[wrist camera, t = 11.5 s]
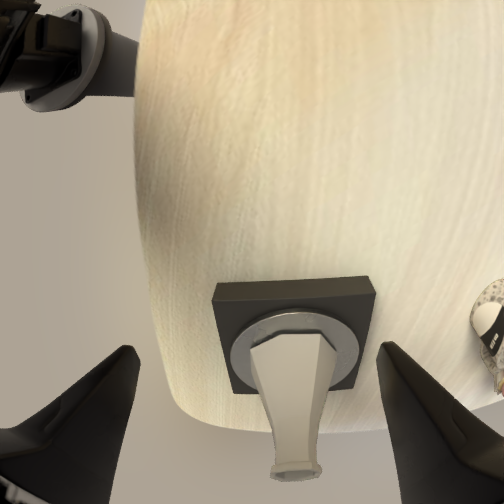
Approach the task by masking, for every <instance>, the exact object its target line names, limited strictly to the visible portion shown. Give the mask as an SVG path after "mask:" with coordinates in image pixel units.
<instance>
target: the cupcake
mask: <svg viewBox="0 0 504 504" xmlns="http://www.w3.org/2000/svg"><path fill="white" fill-rule="evenodd" d="M492 359H493V358H492ZM494 362H495V361H494ZM493 376H494V392H497V395H498V394H500V393H501V392H502V395H503V396H504V368H502V370H501V371H500V372H499V373H498V374H493Z"/></svg>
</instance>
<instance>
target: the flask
mask: <svg viewBox="0 0 504 504" xmlns="http://www.w3.org/2000/svg"><path fill="white" fill-rule="evenodd" d="M337 355H338V354H337V353H336V351H335V350H334V349H333V348H332V347H331V346H330V345H329V343H328V342H327V341H326V340H325V339H324V338H323V336H322V335H321V334H281V335H279V336H277V337H275V338H273V339H271V340H269V341H267V342H264V343H262V344H260V345H258V346H256V347H254V348H252V349H250V358H251V373H252V376H253V379H254V382H255V384H256V387H257V390H258V392H259V395H260V397H261V400H262V402H263V405H264V408H265V411H266V414H267V417H268V420H269V423H270V425H271V428H272V433H273V438H274V444H275V450H276V458H275V465H273V466H272V468H271V473H270V478H272V479H275V480H278V481H281V482H287V481H288V482H290V481H304V480H309V479H314V478H318V477H319V476H320V474H321V473H322V468H321V466H320V465H319V464H317V457H316V443H317V436H318V429H319V422H320V419H321V415H322V411H323V408H324V404H325V400H326V397H327V393H328V389H329V386H330V382H331V379H332V375H333V371H334V368H335V364H336V359H337Z"/></svg>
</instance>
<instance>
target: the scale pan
mask: <svg viewBox="0 0 504 504" xmlns="http://www.w3.org/2000/svg"><path fill="white" fill-rule="evenodd" d="M281 334H321V335H322V336H323V338H324V339H325V340H326V341H327V342H328V343H329V345H330V346H331V347H332V348H333V349H334V350H335V351H336V353H337V354H338V355H337V359H336V364H335V368H334V371H333V375H332V379H331V382H330V386H329V387H331V386H333V385H335V384H337V383H338V382H340V381H341V380H342V379H343V378H345V377H346V376H347V375H348V374H349V373H350V371H351V370H352V369H353V367H354V366H355V364H356V362H357V359H358V355H359V344H358V340H357V337H356V335H355V333H354V331H353V329H352V328H351V327H350V326H349V325H348V324H347V323H346V322H345V321H344V320H342V319H341V318H339V317H338V316H335V315H333V314H331V313H328V312H325V311H321V310H317V309H309V308H292V309H284V310H278V311H274V312H271V313H268V314H265V315H263V316H260V317H258V318H256V319H255V320H253V321H251V322H250V323H248V324H247V325H246V326H245V327H244V328H243V329H241V330H240V332H239V333H238V334H237V336H236V337H235V339H234V341H233V344H232V347H231V353H230V360H231V365H232V368H233V370H234V371H235V373H236V374H237V376H238V377H239V378H240V379H241V380H242V381H243V382H245V383H246V384H247V385H249V386H251V387H252V388H254V389H256V390H257V387H256V384H255V382H254V379H253V376H252V373H251V358H250V349H252V348H254V347H256V346H258V345H260V344H262V343H264V342H267V341H269V340H271V339H273V338H275V337H277V336H279V335H281Z"/></svg>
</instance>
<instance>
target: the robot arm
mask: <svg viewBox="0 0 504 504" xmlns="http://www.w3.org/2000/svg"><path fill="white" fill-rule="evenodd" d="M40 6H41V4H39V3H37V2H35V0H0V93H3V92H11V91H12V92H13V91H25V102H26V103H27V104H29V103H33V102H34V101H36V100H38V99H39V98H41V97H43V96H45V95H46V94H48V93H50V92H52V91H54V90H56V89H58V88H60V87H62V86H64V85H65V84H68V83H70V82H72V81H74V80H76V79H78V78H79V77H80V76H81V73H82V63H81V29H82V24H81V22H82V11H81V10H80V9H74V10H72V11H71V12H69V13H67V14H66V15H64V16H62V17H58V16H54V15H50V14H46V15H40V14H35V12H37V11H38V9H39V8H40ZM75 14H76V15H75ZM75 71H76V74H75V75H74V73H75ZM376 363H377V370H378V377H379V384H380V391H381V398H382V403H383V407H384V411H385V416H386V420H387V424H388V429H389V433H390V437H391V442H392V447H393V452H394V458H395V463H396V468H397V474H398V480H399V487H400V492H401V493H400V494H401V501H402V504H504V437H503V436H501V435H499V434H498V433H497V432H495V431H494V430H493V429H491V428H490V427H489V426H487V425H486V424H485V423H484V422H482V421H481V420H479V419H478V418H477V417H476V416H474V415H473V414H472V413H471V412H470V411H469V410H467V409H466V408H465V407H464V406H463V405H462V404H461V403H460V402H459V401H458V400H457V399H454V397H453V396H452V395H451V394H450V393H449V392H448V391H447V390H446V389H445V388H444V387H443V386H442V385H441V384H439V383H438V382H437V381H436V380H435V379H434V378H433V377H432V376H431V375H430V374H429V373H428V372H426V371H425V370H424V369H423V368H422V367H421V366H420V365H419V364H418V363H417V362H416V361H414V360H413V359H412V358H411V357H410V356H409V355H408V354H407V353H406V352H404V351H403V350H402V349H401V348H400V347H399V346H398V345H397V344H396V343H394V342H393V341H389V342H383V343H382V344H381V346H380V349H379V352H378V355H377V359H376ZM139 370H140V359H139V357H138V355H137V353H136V351H135V349H134V347H133V346H130V345H122V346H121V347H119V348H118V349H117V350H116V351H115V352H113V353H112V354H111V355H110V356H108V357H107V358H106V359H104V360H103V361H102V362H101V363H99V364H98V365H97V366H96V367H94V368H93V369H92V370H91V371H90V372H88V373H87V374H86V375H85V376H84V377H82V378H81V379H80V380H78V381H77V382H76V383H75V384H73V385H72V386H71V387H70V388H68V389H67V390H66V391H65V392H64V393H62V394H61V396H59V397H57V398H56V399H55V400H54V401H52V402H51V403H50V404H49V405H47V406H46V407H44V408H43V409H42V410H40V411H39V412H37V413H36V414H34V415H33V416H31V417H30V418H28V419H27V420H25V421H24V422H22V423H21V424H19V425H17V426H15V427H12V428H8V429H0V504H109V500H110V495H111V490H112V486H113V485H112V484H113V480H114V475H115V471H116V467H117V462H118V458H119V454H120V450H121V446H122V442H123V438H124V434H125V430H126V427H127V422H128V419H129V416H130V412H131V409H132V405H133V401H134V397H135V392H136V386H137V381H138V375H139Z"/></svg>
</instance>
